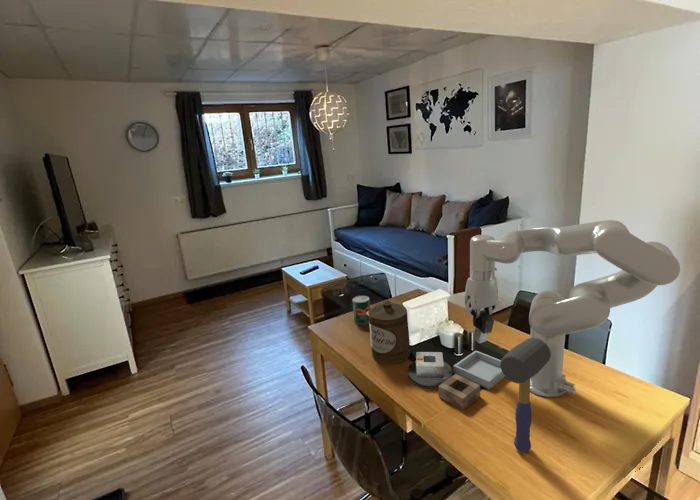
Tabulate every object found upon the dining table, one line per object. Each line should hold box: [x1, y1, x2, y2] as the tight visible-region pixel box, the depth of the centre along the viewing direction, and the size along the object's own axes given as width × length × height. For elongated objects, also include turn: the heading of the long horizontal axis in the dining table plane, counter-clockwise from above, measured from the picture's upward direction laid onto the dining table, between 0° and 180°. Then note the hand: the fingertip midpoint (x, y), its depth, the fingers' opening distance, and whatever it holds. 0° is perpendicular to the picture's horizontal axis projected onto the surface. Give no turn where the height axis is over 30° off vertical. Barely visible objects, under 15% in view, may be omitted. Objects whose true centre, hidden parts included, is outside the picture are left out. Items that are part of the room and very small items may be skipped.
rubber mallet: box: [500, 337, 551, 454], centre depth 96 cm, size 12×8×30 cm, turn 130°
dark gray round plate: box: [407, 360, 453, 389], centre depth 134 cm, size 15×15×2 cm
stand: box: [437, 374, 481, 411], centre depth 122 cm, size 9×9×4 cm
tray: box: [452, 350, 506, 391], centre depth 133 cm, size 14×14×3 cm
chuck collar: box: [415, 351, 444, 377], centre depth 133 cm, size 9×9×4 cm
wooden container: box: [368, 300, 411, 365], centre depth 147 cm, size 15×15×22 cm
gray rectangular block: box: [472, 309, 495, 344], centre depth 129 cm, size 6×3×10 cm, turn 20°
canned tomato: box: [352, 295, 371, 326], centre depth 179 cm, size 8×8×11 cm
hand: (481, 325), depth 129 cm, fingers closed on gray rectangular block, 3 cm apart
